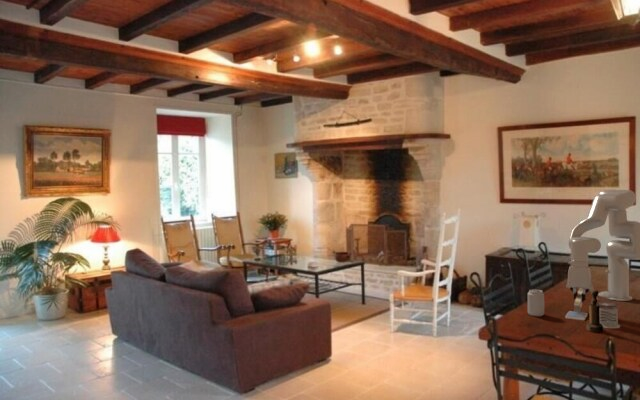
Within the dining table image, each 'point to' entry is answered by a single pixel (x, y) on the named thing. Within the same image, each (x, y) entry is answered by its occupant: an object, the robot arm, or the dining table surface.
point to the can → (535, 302)
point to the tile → (576, 315)
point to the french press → (608, 310)
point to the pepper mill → (594, 314)
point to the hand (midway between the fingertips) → (579, 301)
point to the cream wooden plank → (578, 301)
